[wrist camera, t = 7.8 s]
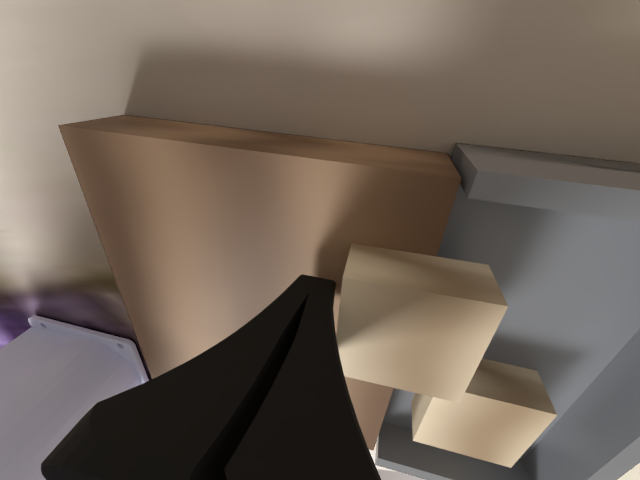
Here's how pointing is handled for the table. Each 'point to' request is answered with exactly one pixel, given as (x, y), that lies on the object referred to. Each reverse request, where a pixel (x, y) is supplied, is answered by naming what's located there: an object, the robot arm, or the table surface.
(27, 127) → the table surface
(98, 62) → the table surface
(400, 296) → the tile
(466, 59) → the table surface
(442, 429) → the tile
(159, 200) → the walnut board
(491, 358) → the slate bin
